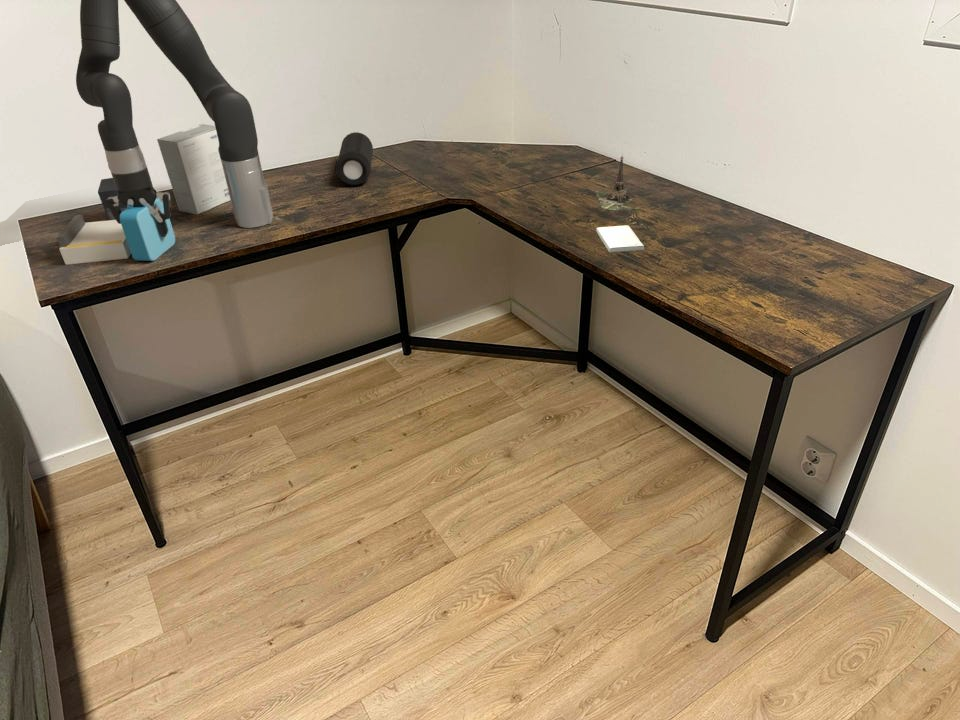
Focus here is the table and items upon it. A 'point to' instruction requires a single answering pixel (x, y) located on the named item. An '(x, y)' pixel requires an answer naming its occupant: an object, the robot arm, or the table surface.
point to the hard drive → (619, 238)
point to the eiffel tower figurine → (616, 194)
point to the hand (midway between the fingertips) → (151, 236)
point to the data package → (145, 233)
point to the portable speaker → (355, 159)
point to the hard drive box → (195, 168)
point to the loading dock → (92, 241)
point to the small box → (105, 191)
